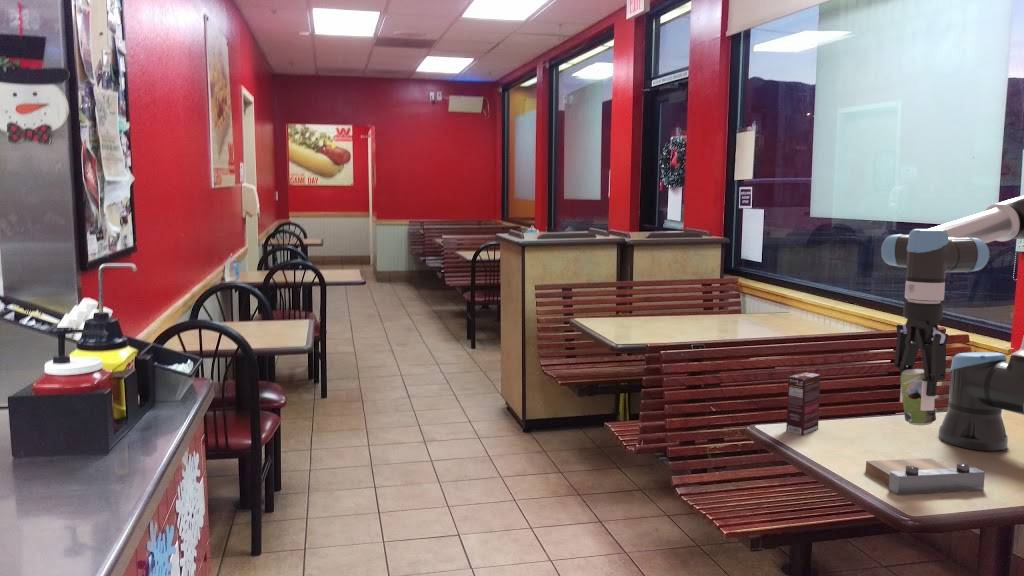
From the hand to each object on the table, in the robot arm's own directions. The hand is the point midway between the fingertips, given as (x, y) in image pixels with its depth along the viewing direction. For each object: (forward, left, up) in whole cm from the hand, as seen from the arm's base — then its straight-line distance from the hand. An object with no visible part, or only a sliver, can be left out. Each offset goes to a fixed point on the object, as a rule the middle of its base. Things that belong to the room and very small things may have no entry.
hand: (916, 405), depth 169 cm
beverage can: (0, 0, -4) cm, 4 cm away
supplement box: (+7, -34, -17) cm, 39 cm away
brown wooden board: (-1, -1, -17) cm, 17 cm away
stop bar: (-1, +6, -17) cm, 18 cm away
